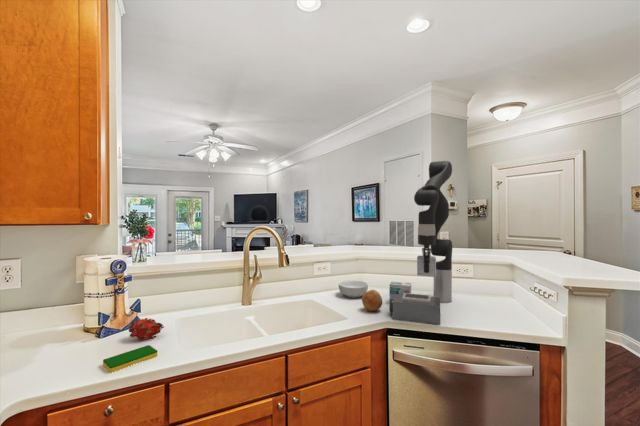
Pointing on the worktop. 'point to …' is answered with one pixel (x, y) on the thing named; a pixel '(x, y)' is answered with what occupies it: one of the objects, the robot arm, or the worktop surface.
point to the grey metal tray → (416, 308)
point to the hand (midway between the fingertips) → (426, 271)
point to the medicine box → (431, 266)
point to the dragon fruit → (145, 328)
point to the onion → (372, 300)
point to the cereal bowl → (353, 288)
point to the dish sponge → (129, 358)
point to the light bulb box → (398, 289)
